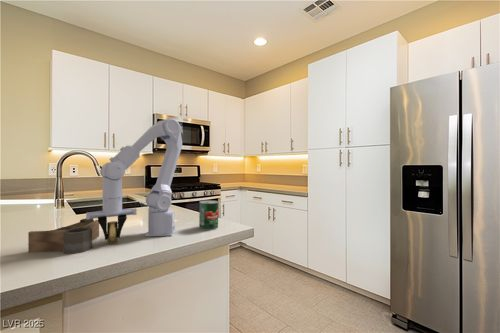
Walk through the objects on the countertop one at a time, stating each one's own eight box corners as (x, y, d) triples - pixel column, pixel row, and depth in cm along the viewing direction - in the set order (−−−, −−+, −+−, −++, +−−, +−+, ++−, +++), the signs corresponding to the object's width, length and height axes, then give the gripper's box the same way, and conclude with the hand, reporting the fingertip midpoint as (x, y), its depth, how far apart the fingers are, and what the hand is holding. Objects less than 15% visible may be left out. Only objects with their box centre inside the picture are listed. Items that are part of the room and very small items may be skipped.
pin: (118, 241, 82) (118, 220, 82) (115, 244, 79) (115, 223, 79) (109, 241, 82) (109, 221, 82) (105, 244, 79) (105, 223, 79)
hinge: (108, 236, 88) (108, 219, 88) (84, 253, 71) (84, 233, 71) (57, 237, 85) (57, 221, 85) (20, 256, 69) (20, 235, 69)
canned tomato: (205, 224, 106) (205, 199, 106) (221, 226, 103) (221, 200, 103) (195, 229, 99) (195, 202, 98) (212, 231, 96) (212, 203, 96)
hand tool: (55, 242, 81) (55, 228, 81) (45, 241, 82) (45, 227, 82) (99, 227, 100) (99, 216, 100) (91, 227, 101) (91, 216, 101)
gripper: (134, 195, 88) (134, 231, 88) (87, 197, 80) (87, 238, 80) (137, 197, 82) (137, 237, 82) (85, 200, 74) (85, 244, 74)
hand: (112, 238), depth 81 cm, fingers closed on pin, 3 cm apart
